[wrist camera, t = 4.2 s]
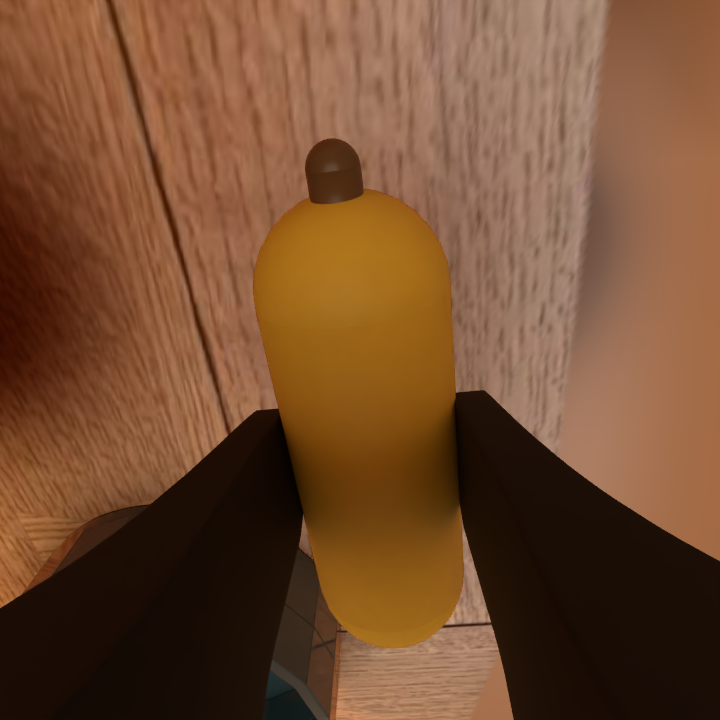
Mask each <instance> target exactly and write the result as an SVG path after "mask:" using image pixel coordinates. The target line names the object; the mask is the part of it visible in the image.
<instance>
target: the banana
mask: <svg viewBox="0 0 720 720" xmlns="http://www.w3.org/2000/svg"><path fill="white" fill-rule="evenodd" d="M305 172H306V178H307V184H308V191H309V198H307V199H305V200H303V201H301V202H299V203H298V204H297V205H295V206H294V207H293V208H292V209H290V210H289V211H288V212H286V213H285V214H284V215H283V216H282V217H281V218H280V220H279V221H278V222H277V223H276V224H275V226H274V227H273V228H272V229H271V230H270V232H269V234H268V235H267V237H266V239H265V241H264V243H263V245H262V247H261V248H260V251H259V255H258V258H257V261H256V265H255V269H254V281H253V295H254V302H255V310H256V315H257V319H258V324H259V328H260V332H261V336H262V341H263V345H264V349H265V353H266V358H267V362H268V366H269V370H270V374H271V379H272V383H273V387H274V391H275V396H276V400H277V404H278V408H279V413H280V417H281V421H282V425H283V430H284V434H285V438H286V442H287V447H288V451H289V455H290V459H291V464H292V468H293V472H294V476H295V480H296V485H297V489H298V493H299V497H300V502H301V506H302V510H303V514H304V519H305V523H306V527H307V531H308V536H309V540H310V544H311V548H312V553H313V557H314V561H315V565H316V569H317V574H318V578H319V582H320V586H321V590H322V593H323V596H324V598H325V600H326V603H327V605H328V607H329V610H330V611H331V613H332V614H333V615H334V617H335V618H336V619H337V621H338V622H339V623H340V624H341V625H342V627H343V628H345V629H346V630H347V631H348V632H349V633H350V634H351V635H353V636H355V637H357V638H358V639H360V640H362V641H364V642H366V643H368V644H371V645H375V646H378V647H383V648H404V647H408V646H412V645H415V644H418V643H420V642H422V641H424V640H426V639H428V638H429V637H430V636H432V635H433V634H434V633H435V632H437V631H438V630H439V629H440V628H441V627H443V625H444V624H445V623H446V622H447V621H448V619H449V618H450V617H451V615H452V613H453V611H454V609H455V607H456V605H457V603H458V600H459V598H460V595H461V590H462V586H463V577H464V562H463V540H462V519H461V509H460V501H459V480H458V459H457V439H456V418H455V399H456V390H455V368H454V347H453V325H452V304H451V283H450V275H449V268H448V262H447V259H446V257H445V254H444V251H443V249H442V246H441V243H440V242H439V240H438V239H437V237H436V236H435V234H434V232H433V231H432V229H431V228H430V226H429V225H428V224H427V223H426V222H425V221H424V220H423V218H422V217H421V216H420V215H419V214H418V213H417V212H416V211H415V210H414V209H412V208H411V207H409V206H408V205H406V204H405V203H403V202H402V201H400V200H399V199H397V198H394V197H392V196H389V195H386V194H384V193H381V192H379V191H375V190H369V189H363V181H362V173H361V165H360V160H359V157H358V155H357V153H356V152H355V150H354V149H353V148H352V147H351V146H350V145H349V144H348V143H346V142H345V141H342V140H340V139H326V140H323V141H321V142H319V143H317V144H316V145H315V146H314V147H313V148H312V149H311V150H310V152H309V154H308V156H307V159H306V164H305Z"/></svg>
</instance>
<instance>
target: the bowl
mask: <svg viewBox="0 0 720 720" xmlns="http://www.w3.org/2000/svg"><path fill="white" fill-rule="evenodd" d="M148 506H149V505H148ZM148 506H140V507H132V508H128V509H123V510H119V511H115V512H112V513H109V514H106V515H104V516H101V517H99V518H96V519H94V520H92V521H90V522H89V523H87V524H85V525H83V526H82V527H80V528H79V529H77V530H76V531H75V532H74V533H72V534H71V535H70V536H69V537H68V538H67V539H66V540H65V541H64V542H63V544H62V545H61V546H60V547H59V548H58V549H56V550H55V551H54V552H53V553H52V555H51V556H50V557H49V559H48V560H47V561H46V563H45V564H44V565H43V567H42V568H41V569H40V571H39V572H38V573H37V575H36V576H35V577H34V579H33V580H32V581H31V583H30V584H29V585H28V587H27V588H26V589H25V591H24V592H23V593H22V594H24V593H25V592H27V591H29V590H30V589H32V588H33V587H35V586H36V585H38V584H40V583H41V582H43V581H44V580H46V579H47V578H49V577H51V576H52V575H54V574H55V573H57V572H59V571H60V570H62V569H63V568H65V567H66V566H68V565H69V564H71V563H72V562H74V561H75V560H77V559H78V558H80V557H81V556H83V555H84V554H86V553H87V552H88V551H90V550H91V549H93V548H94V547H95V546H97V545H98V544H99V543H101V542H102V541H104V540H105V539H106V538H108V537H109V536H111V535H112V534H113V533H115V532H116V531H117V530H119V529H120V528H121V527H123V526H124V525H125V524H127V523H128V522H129V521H131V520H132V519H133V518H134V517H136V516H137V515H138V514H140V513H141V512H142V511H143V510H145V509H146V508H147V507H148ZM340 630H341V624H340V623H339V622H338V621H337V619H336V618H335V617H334V615H333V614H332V613H331V611H330V610H329V607H328V605H327V603H326V600H325V598H324V596H323V593H322V590H321V586H320V582H319V578H318V574H317V569H316V565H315V564H314V563H313V562H312V560H311V559H310V558H309V557H308V556H307V555H305V554H304V553H303V552H302V551H300V550H299V549H298V550H297V555H296V559H295V563H294V568H293V572H292V576H291V581H290V585H289V589H288V593H287V598H286V602H285V606H284V610H283V614H282V619H281V623H280V627H279V631H278V636H277V640H276V644H275V648H274V652H273V658H272V663H271V668H270V673H269V678H268V684H267V691H266V698H265V705H264V712H263V719H262V720H336V709H337V696H338V682H339V669H340V655H341V633H340Z"/></svg>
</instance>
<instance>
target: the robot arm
mask: <svg viewBox="0 0 720 720" xmlns="http://www.w3.org/2000/svg"><path fill="white" fill-rule="evenodd" d="M455 418H456V439H457V459H458V480H459V501H460V509H461V514H462V520H463V526H464V529H465V533H466V537H467V540H468V544H469V547H470V551H471V554H472V558H473V561H474V565H475V568H476V572H477V575H478V578H479V582H480V585H481V589H482V592H483V596H484V599H485V603H486V606H487V610H488V613H489V616H490V620H491V623H492V627H493V630H494V634H495V637H496V641H497V644H498V648H499V652H500V656H501V660H502V664H503V668H504V673H505V678H506V682H507V687H508V693H509V697H510V702H511V708H512V713H513V718H514V720H720V561H718V560H716V559H714V558H713V557H711V556H709V555H707V554H705V553H703V552H702V551H700V550H698V549H696V548H694V547H693V546H691V545H689V544H687V543H685V542H684V541H682V540H680V539H678V538H677V537H675V536H673V535H672V534H670V533H668V532H666V531H665V530H663V529H661V528H660V527H658V526H656V525H655V524H653V523H652V522H650V521H648V520H647V519H645V518H644V517H642V516H641V515H639V514H637V513H636V512H634V511H633V510H631V509H630V508H628V507H627V506H625V505H623V504H622V503H620V502H618V501H617V500H615V499H614V498H612V497H611V496H610V495H608V494H607V493H605V492H604V491H602V490H601V489H599V488H598V487H597V486H595V485H594V484H592V483H591V482H590V481H588V480H587V479H586V478H584V477H583V476H582V475H580V474H579V473H578V472H576V471H575V470H574V469H572V468H571V467H570V466H568V465H567V464H566V463H565V462H564V461H562V460H561V459H560V458H559V457H557V456H556V455H555V454H554V453H553V452H551V451H550V450H549V449H548V448H547V447H546V446H544V445H543V444H542V443H541V442H540V441H539V440H537V439H536V438H535V437H534V436H533V435H532V434H530V433H529V432H528V431H527V430H526V429H525V428H524V427H523V426H522V425H521V424H519V423H518V422H517V421H516V420H515V419H514V418H513V417H512V416H511V415H510V414H509V413H508V412H507V411H506V410H505V409H504V408H503V407H502V406H501V405H500V404H498V403H497V402H496V401H495V400H494V399H493V398H492V397H491V396H490V395H489V394H488V393H487V392H486V391H484V390H480V391H469V392H458V393H456V399H455ZM302 519H303V510H302V506H301V502H300V497H299V493H298V489H297V485H296V480H295V476H294V472H293V468H292V464H291V459H290V455H289V451H288V447H287V442H286V438H285V434H284V430H283V425H282V421H281V417H280V413H279V409H268V410H257V411H255V412H254V413H253V414H251V415H250V416H249V417H248V418H247V419H246V420H245V421H243V422H242V423H241V424H240V425H239V426H238V427H237V428H236V429H235V430H234V431H233V432H232V433H230V434H229V435H228V436H227V437H226V438H225V439H224V440H223V441H222V442H221V443H220V444H219V445H218V446H217V447H216V448H214V449H213V450H212V451H211V452H210V453H209V454H208V455H207V456H206V457H205V458H204V459H202V460H201V461H200V462H199V463H198V464H197V465H196V466H195V467H194V468H193V469H192V470H191V471H189V472H188V473H187V474H186V475H185V476H184V477H182V478H181V479H180V480H179V481H178V482H177V483H175V484H174V485H173V486H172V487H171V488H169V489H168V490H167V491H166V492H165V493H164V494H162V495H161V496H160V497H159V498H158V499H156V500H155V501H154V502H153V503H152V504H150V505H149V506H148V507H147V508H146V509H145V510H143V511H142V512H141V513H140V514H138V515H137V516H136V517H134V518H133V519H132V520H131V521H129V522H128V523H127V524H125V525H124V526H123V527H121V528H120V529H119V530H117V531H116V532H115V533H113V534H112V535H111V536H109V537H108V538H106V539H105V540H104V541H102V542H101V543H99V544H98V545H97V546H95V547H94V548H93V549H91V550H90V551H88V552H87V553H86V554H84V555H83V556H81V557H80V558H78V559H77V560H75V561H74V562H72V563H71V564H69V565H68V566H66V567H65V568H63V569H62V570H60V571H59V572H57V573H55V574H54V575H52V576H51V577H49V578H47V579H46V580H44V581H43V582H41V583H40V584H38V585H36V586H35V587H33V588H32V589H30V590H29V591H27V592H25V593H24V594H22V595H21V596H19V597H17V598H16V599H14V600H13V601H11V602H10V603H8V604H6V605H5V606H3V607H2V608H0V720H262V719H263V712H264V705H265V698H266V691H267V684H268V678H269V673H270V668H271V663H272V658H273V652H274V648H275V644H276V640H277V636H278V631H279V627H280V623H281V619H282V614H283V610H284V606H285V602H286V598H287V593H288V589H289V585H290V581H291V576H292V572H293V568H294V563H295V559H296V555H297V550H298V546H299V541H300V537H301V528H302Z"/></svg>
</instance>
